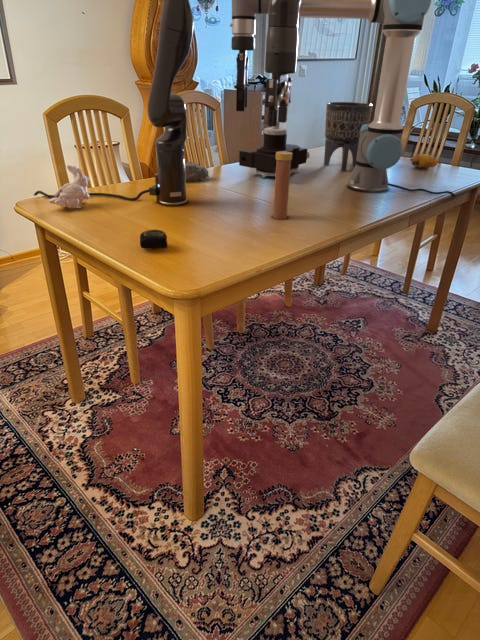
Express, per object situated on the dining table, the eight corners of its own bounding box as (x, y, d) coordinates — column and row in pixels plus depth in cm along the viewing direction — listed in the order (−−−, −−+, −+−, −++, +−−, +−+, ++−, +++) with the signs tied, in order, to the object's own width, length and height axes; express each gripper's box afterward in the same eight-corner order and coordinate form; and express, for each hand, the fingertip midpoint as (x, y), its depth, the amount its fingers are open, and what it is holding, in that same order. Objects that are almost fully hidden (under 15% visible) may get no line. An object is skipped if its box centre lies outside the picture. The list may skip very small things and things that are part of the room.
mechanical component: (240, 120, 182) (283, 115, 202) (239, 174, 192) (280, 164, 212) (283, 126, 170) (325, 120, 190) (280, 183, 180) (320, 171, 200)
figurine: (99, 203, 151) (94, 164, 145) (61, 214, 140) (53, 172, 134) (83, 199, 155) (77, 161, 149) (45, 209, 144) (37, 168, 138)
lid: (274, 160, 132) (275, 153, 131) (276, 157, 136) (276, 150, 135) (291, 161, 132) (292, 154, 131) (292, 158, 136) (292, 151, 135)
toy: (412, 161, 206) (406, 154, 219) (414, 175, 209) (408, 167, 222) (438, 153, 203) (431, 147, 216) (440, 167, 206) (432, 160, 219)
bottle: (272, 218, 141) (276, 155, 132) (273, 214, 145) (277, 152, 135) (286, 219, 141) (290, 156, 131) (287, 215, 144) (291, 153, 135)
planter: (313, 167, 208) (319, 103, 195) (331, 160, 222) (338, 101, 209) (353, 173, 199) (362, 107, 185) (369, 166, 213) (379, 104, 199)
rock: (201, 174, 189) (200, 158, 186) (213, 179, 184) (213, 162, 180) (174, 179, 182) (173, 162, 178) (186, 184, 176) (186, 167, 173)
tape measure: (140, 252, 115) (139, 238, 113) (141, 242, 120) (140, 229, 119) (167, 251, 116) (166, 237, 114) (167, 241, 121) (166, 228, 120)
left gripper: (275, 50, 114) (271, 120, 122) (256, 49, 103) (254, 126, 111) (304, 51, 112) (298, 122, 120) (288, 50, 100) (283, 128, 109)
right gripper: (234, 37, 155) (234, 105, 166) (227, 34, 134) (227, 112, 144) (256, 37, 155) (254, 106, 165) (253, 34, 133) (250, 113, 144)
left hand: (277, 124), depth 116 cm, fingers open, 8 cm apart
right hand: (241, 109), depth 155 cm, fingers open, 13 cm apart
